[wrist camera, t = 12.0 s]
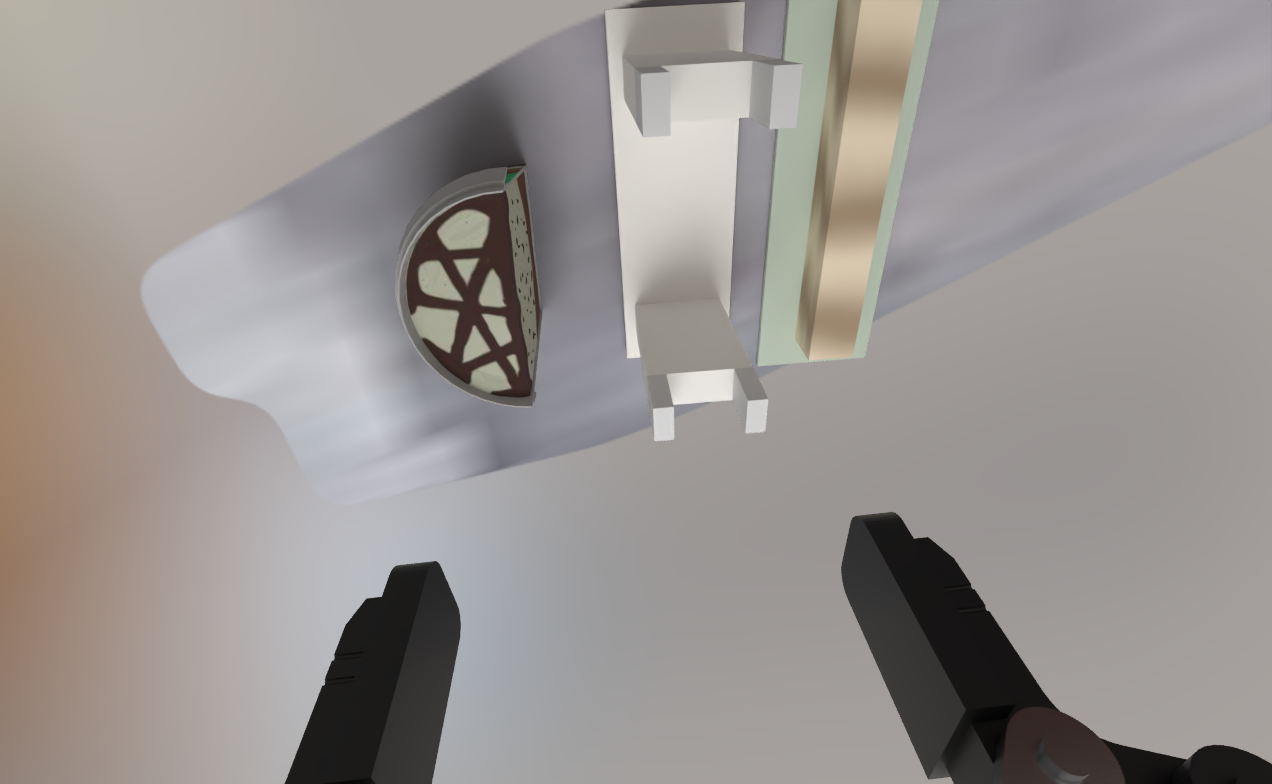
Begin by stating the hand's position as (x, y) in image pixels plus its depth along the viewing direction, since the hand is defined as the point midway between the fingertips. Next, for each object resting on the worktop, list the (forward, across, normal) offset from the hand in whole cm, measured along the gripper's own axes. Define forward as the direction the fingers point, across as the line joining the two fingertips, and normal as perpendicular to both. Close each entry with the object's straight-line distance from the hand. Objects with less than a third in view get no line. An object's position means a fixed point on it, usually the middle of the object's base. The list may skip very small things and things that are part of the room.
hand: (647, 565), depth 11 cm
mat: (+28, -14, +2) cm, 31 cm away
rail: (+27, -14, +2) cm, 31 cm away
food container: (+28, +8, +3) cm, 29 cm away
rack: (+28, -4, +1) cm, 28 cm away
